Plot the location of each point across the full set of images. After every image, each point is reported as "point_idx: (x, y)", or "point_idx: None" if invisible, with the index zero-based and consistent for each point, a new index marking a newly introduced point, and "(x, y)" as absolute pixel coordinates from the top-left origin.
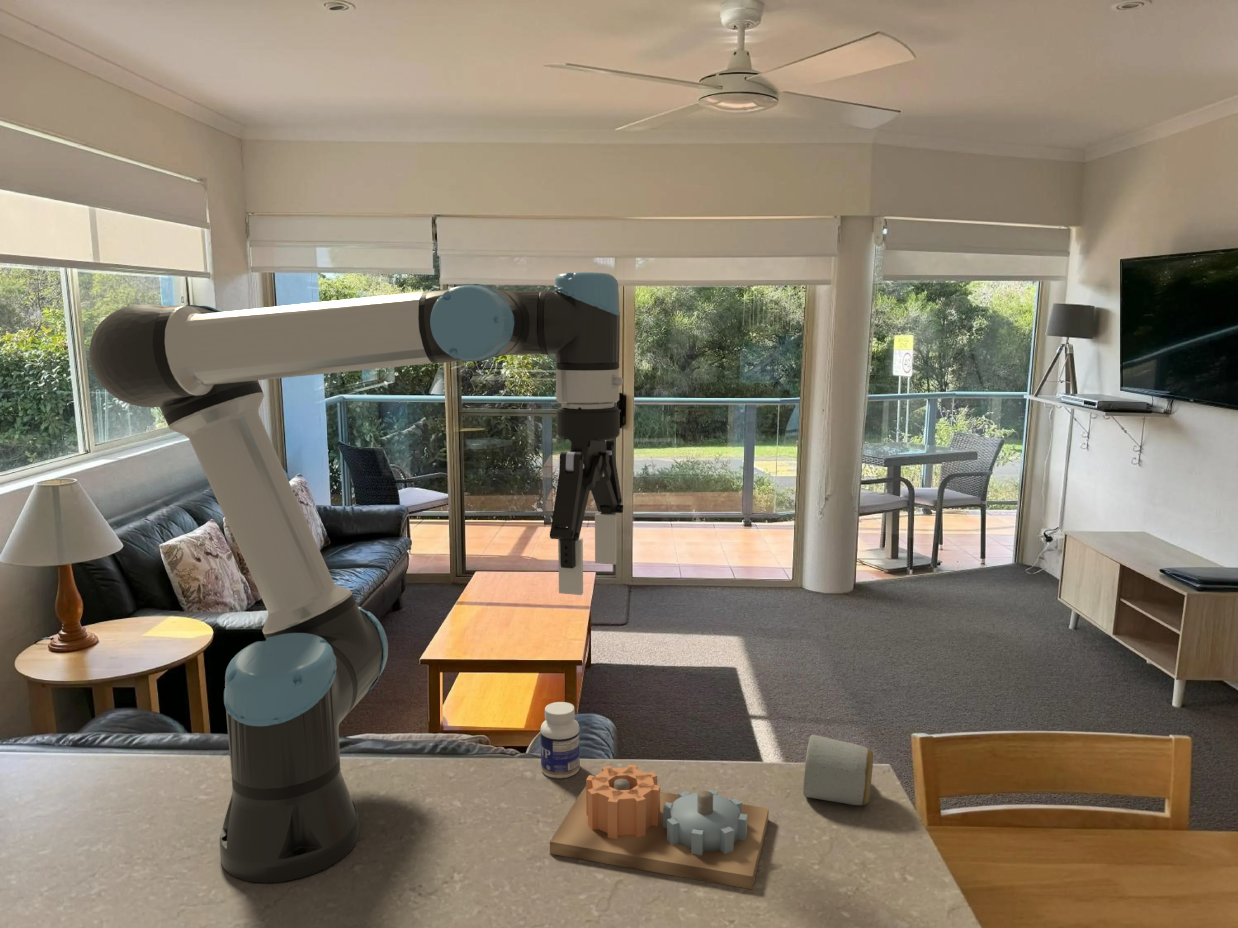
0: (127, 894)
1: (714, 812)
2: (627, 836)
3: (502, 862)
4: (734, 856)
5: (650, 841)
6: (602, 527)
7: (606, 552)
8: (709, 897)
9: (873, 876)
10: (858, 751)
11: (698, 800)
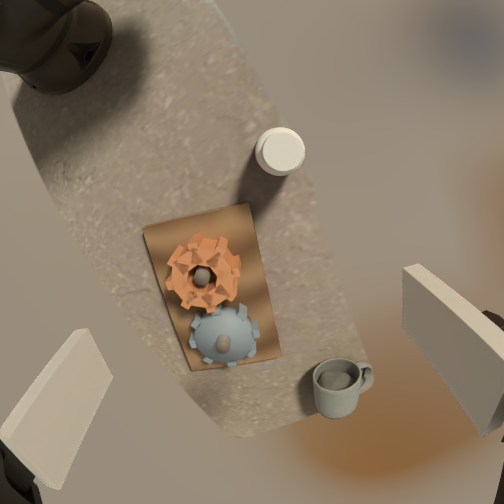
0: None
1: None
2: None
3: (117, 199)
4: None
5: None
6: (469, 362)
7: (419, 321)
8: (170, 346)
9: (246, 410)
10: (336, 415)
11: (217, 342)
